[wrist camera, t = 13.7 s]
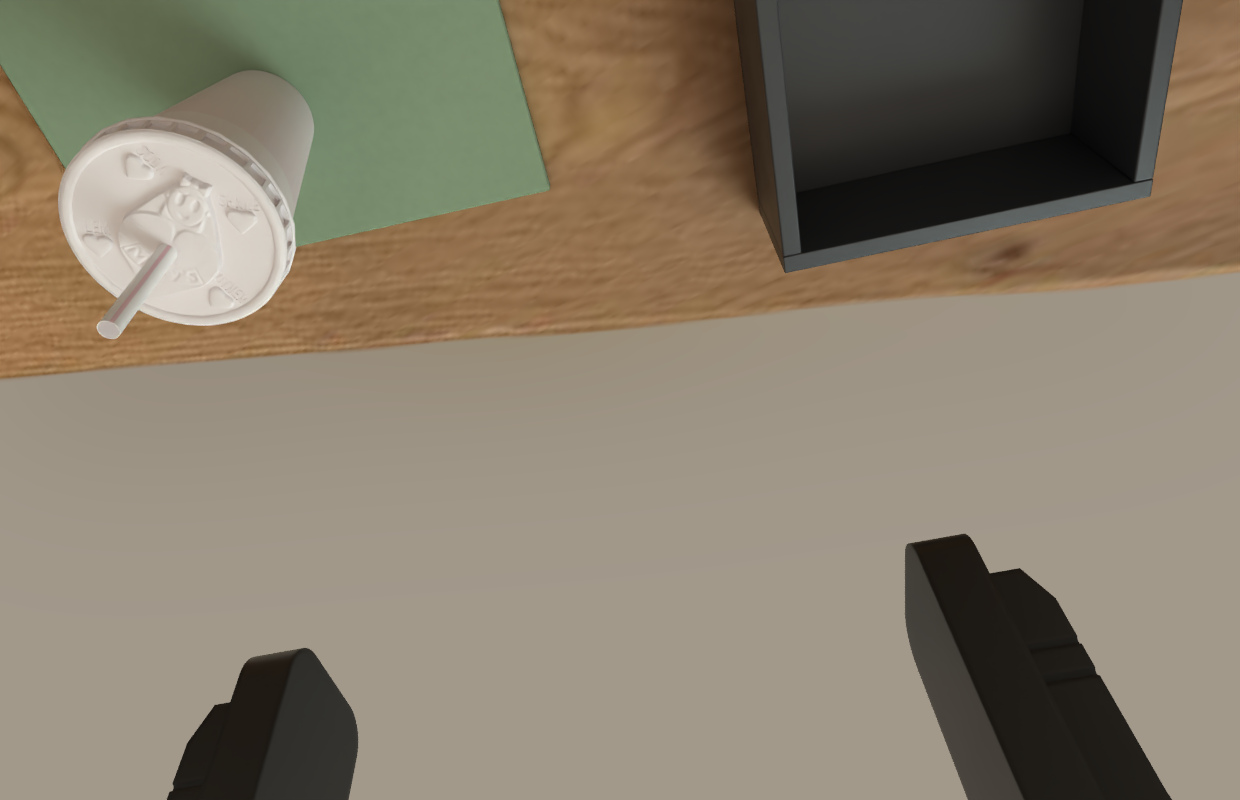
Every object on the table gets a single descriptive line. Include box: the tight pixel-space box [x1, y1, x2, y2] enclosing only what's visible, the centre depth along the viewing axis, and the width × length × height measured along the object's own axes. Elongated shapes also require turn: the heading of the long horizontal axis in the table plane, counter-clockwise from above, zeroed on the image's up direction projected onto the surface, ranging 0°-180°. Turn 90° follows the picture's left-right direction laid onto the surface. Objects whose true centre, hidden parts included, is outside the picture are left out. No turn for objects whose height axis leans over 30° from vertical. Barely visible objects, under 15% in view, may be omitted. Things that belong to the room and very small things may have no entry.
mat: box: [0, 0, 550, 247], centre depth 33 cm, size 12×18×1 cm, turn 102°
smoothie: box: [58, 70, 314, 339], centre depth 28 cm, size 6×6×14 cm
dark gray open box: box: [733, 0, 1183, 273], centre depth 31 cm, size 12×13×5 cm
